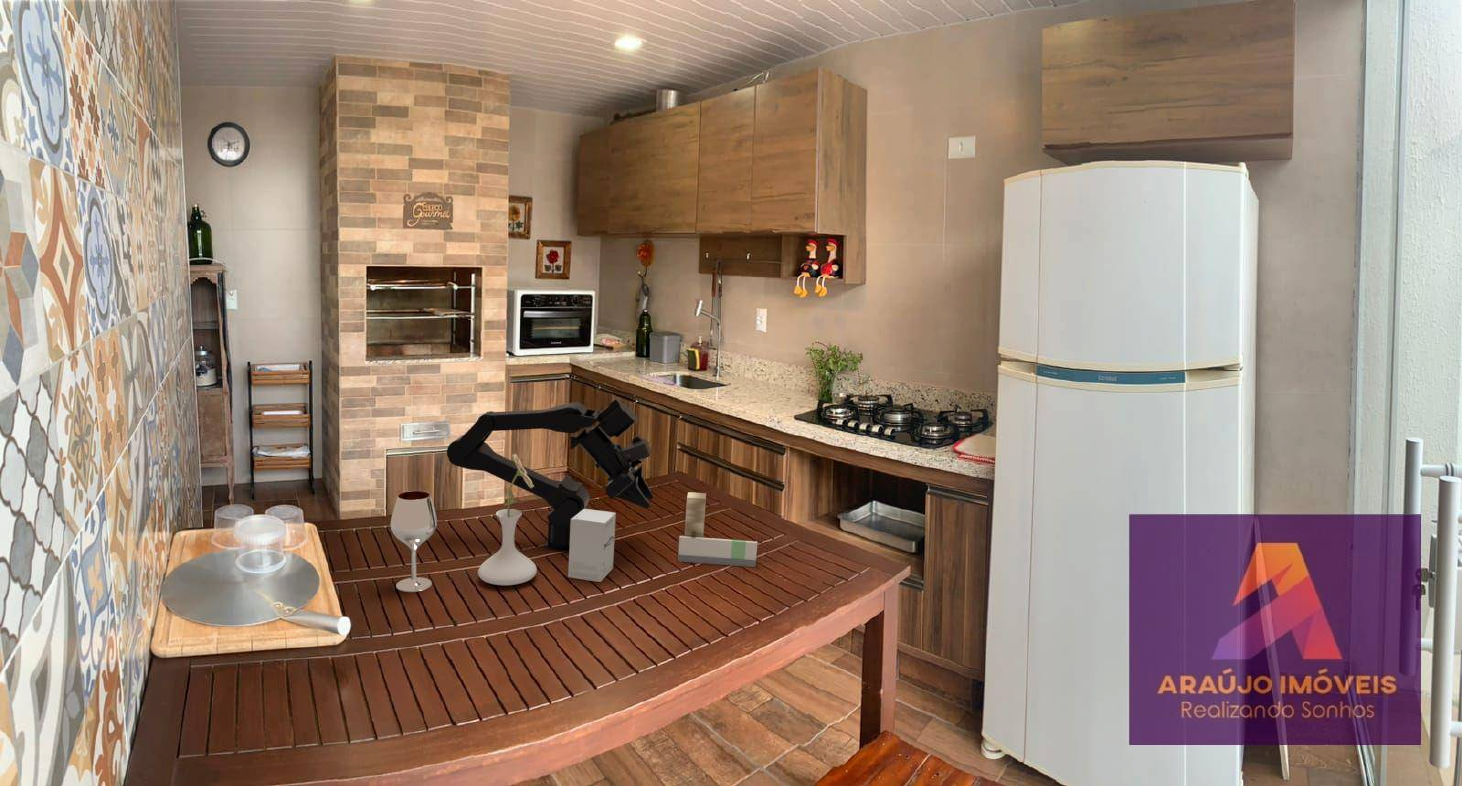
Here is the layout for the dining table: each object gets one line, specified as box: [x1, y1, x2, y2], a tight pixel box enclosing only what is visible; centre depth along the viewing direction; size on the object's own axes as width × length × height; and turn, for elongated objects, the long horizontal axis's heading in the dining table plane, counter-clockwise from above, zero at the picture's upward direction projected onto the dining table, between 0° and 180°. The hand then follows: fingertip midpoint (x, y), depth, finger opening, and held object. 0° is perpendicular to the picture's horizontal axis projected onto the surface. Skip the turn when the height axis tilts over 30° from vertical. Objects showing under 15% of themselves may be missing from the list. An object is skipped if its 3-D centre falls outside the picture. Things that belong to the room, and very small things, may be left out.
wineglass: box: [390, 490, 438, 593], centre depth 153 cm, size 8×8×18 cm
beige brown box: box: [684, 491, 707, 538], centre depth 177 cm, size 5×6×12 cm
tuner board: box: [677, 535, 758, 568], centre depth 179 cm, size 17×8×6 cm, turn 90°
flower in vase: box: [477, 453, 538, 586], centre depth 159 cm, size 13×11×25 cm
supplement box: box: [567, 508, 617, 583], centre depth 165 cm, size 7×7×13 cm
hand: (650, 502), depth 178 cm, fingers open, 6 cm apart
